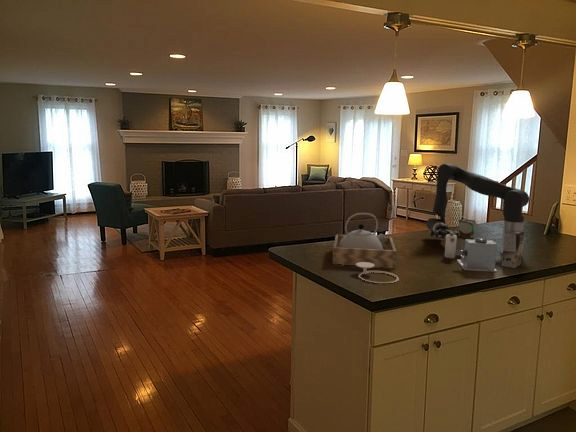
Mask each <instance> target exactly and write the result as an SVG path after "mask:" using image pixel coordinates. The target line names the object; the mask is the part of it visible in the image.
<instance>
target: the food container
mask: <svg viewBox="0 0 576 432" xmlns="http://www.w3.org/2000/svg"><path fill="white" fill-rule="evenodd" d="M477 224H478V223H477V221H476V220H473V219H467V218H465V219H462V218H459V219H458V225H459V227H458V229H459V230H458V233H459V234H458V237H463V238H466V239H469V240H472V239H474V234H475V229H476V226H477ZM471 238H472V239H471Z"/></svg>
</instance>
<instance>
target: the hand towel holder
mask: <svg viewBox="0 0 576 432" xmlns="http://www.w3.org/2000/svg"><path fill="white" fill-rule="evenodd" d="M356 265H357V266H356V267H358V268H360V269H362V272H360V273H359V274H358V276H357V277H359V278H361V279H362V280H365V281H369V282H374V283H394V282H396V283H398V282H399V281H400V278H399V277H398V275H396V274H395V273H392V272H389V271H383V270H367V269H372V268H375V267H374V266H375V265H374V264H373V263H369V262H358V263H356ZM371 272H372V273H371ZM373 272H374V273H373ZM381 273H385V274H384V275H387V274H389V275H388V276H391V275H392V276H391V277H393V276H394V278H395V277H396V278H395V280H391V281H373V280H369V279H365V278H364V277H361V276H363V275H368V274H381ZM362 274H363V275H362ZM359 278H358V279H359ZM362 280H361V281H362ZM397 281H398V282H397ZM394 284H395V283H394Z"/></svg>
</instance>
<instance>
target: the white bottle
mask: <svg viewBox="0 0 576 432" xmlns="http://www.w3.org/2000/svg"><path fill="white" fill-rule="evenodd" d="M453 232H454V231H452V232H450V234H448V235H446V238H445V247H444V258H447V259H456V251H457V239H458V238H457V236H456V235H454V233H453Z"/></svg>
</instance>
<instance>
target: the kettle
mask: <svg viewBox="0 0 576 432" xmlns="http://www.w3.org/2000/svg"><path fill="white" fill-rule="evenodd" d="M361 215H363V216H365V215H366V216H371V217H372V218H373V219H374V220H375V222H376V225H375V230H374V231H373V233H372V232H371V231H369V230H364V228H365V226H364V224H363V223H360V224H358V229H356V230H352V231H350V232H348V229H347V228H348V227H347V226H348V223H349V222H350V220H351V219H352V218H355V217H356V216H361ZM344 225H345V226H344V231H345V234H344V235H345V236H344V237H343V238H342V239H341V241H340V243H339V245H338V248H356V249H376V250H383V247H382V244H381V242H380V241H381V239H382V238H383V237H386V235H385V234H383V233H379V234H378V235H376V234H377V231H378V229H379V221H378V218H377V217H376V216H375V214H372V213H368V212H357V213H355V214H352V215H350V216H349V217H348V218H347V219H346V221H345V224H344Z"/></svg>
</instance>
